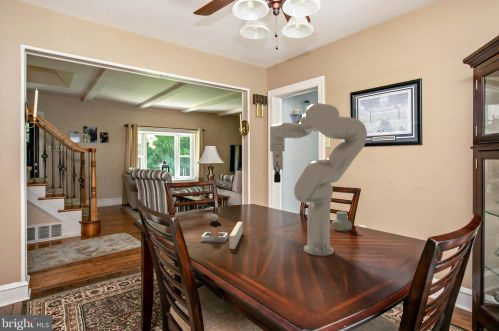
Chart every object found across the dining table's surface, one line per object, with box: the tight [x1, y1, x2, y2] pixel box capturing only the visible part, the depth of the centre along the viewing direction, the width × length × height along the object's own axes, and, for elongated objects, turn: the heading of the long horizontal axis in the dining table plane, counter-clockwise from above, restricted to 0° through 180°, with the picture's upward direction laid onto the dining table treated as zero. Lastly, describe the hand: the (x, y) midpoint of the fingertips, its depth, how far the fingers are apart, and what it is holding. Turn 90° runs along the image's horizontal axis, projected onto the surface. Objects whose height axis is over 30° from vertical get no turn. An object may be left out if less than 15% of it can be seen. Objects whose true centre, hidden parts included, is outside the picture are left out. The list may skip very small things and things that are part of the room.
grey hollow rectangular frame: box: [200, 231, 229, 243], centre depth 136 cm, size 8×12×2 cm, turn 84°
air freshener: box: [331, 211, 353, 232], centre depth 153 cm, size 11×8×10 cm
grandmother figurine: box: [207, 213, 223, 236], centre depth 136 cm, size 8×4×13 cm, turn 87°
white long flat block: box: [229, 221, 243, 250], centre depth 135 cm, size 26×2×6 cm, turn 174°
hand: (277, 181), depth 142 cm, fingers open, 9 cm apart
